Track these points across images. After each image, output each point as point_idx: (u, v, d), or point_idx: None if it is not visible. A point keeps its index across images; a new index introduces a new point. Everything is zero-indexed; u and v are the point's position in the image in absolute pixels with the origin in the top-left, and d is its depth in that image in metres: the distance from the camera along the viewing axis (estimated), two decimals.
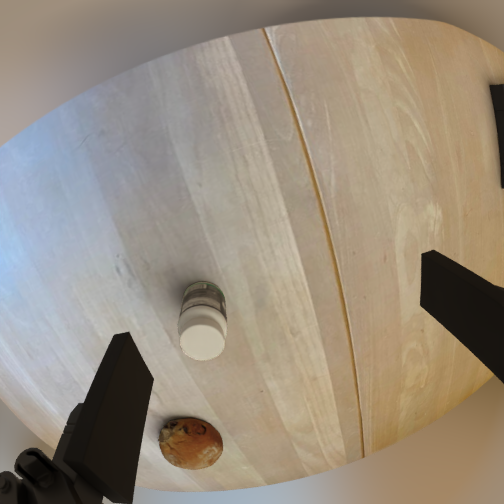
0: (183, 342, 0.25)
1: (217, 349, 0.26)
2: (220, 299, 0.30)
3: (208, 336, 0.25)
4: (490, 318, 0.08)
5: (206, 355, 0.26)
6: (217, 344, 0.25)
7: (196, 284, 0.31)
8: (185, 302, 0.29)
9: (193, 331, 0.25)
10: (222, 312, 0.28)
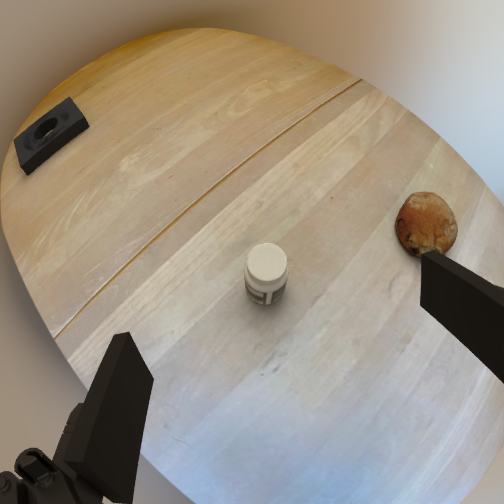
0: (273, 276, 0.29)
1: (266, 247, 0.30)
2: None
3: (257, 259, 0.29)
4: (490, 318, 0.08)
5: (277, 252, 0.30)
6: (261, 249, 0.30)
7: (250, 297, 0.36)
8: (259, 296, 0.33)
9: (258, 272, 0.29)
10: None
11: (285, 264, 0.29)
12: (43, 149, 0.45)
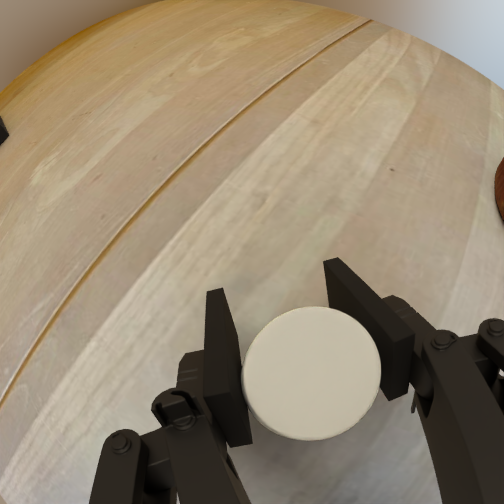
0: (343, 419, 0.07)
1: (303, 323, 0.08)
2: None
3: (279, 372, 0.08)
4: (368, 329, 0.09)
5: (345, 336, 0.08)
6: (289, 333, 0.08)
7: None
8: None
9: (289, 419, 0.07)
10: None
11: (376, 371, 0.07)
12: None
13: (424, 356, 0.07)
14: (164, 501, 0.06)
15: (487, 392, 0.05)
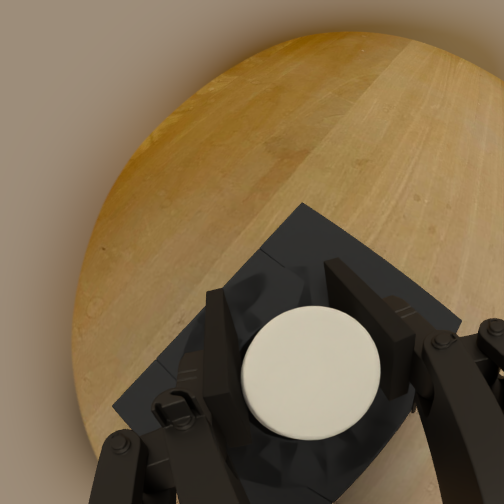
0: (343, 419, 0.07)
1: (303, 322, 0.08)
2: None
3: (279, 372, 0.08)
4: (368, 329, 0.09)
5: (344, 335, 0.08)
6: (288, 333, 0.08)
7: None
8: None
9: (288, 418, 0.07)
10: None
11: (375, 371, 0.08)
12: None
13: (424, 356, 0.07)
14: (164, 501, 0.06)
15: (487, 392, 0.05)
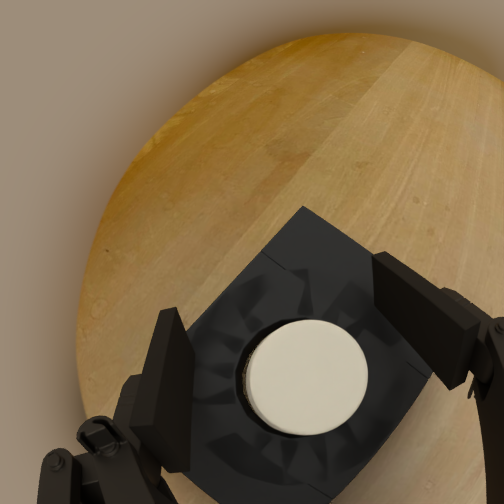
0: (335, 417, 0.08)
1: (301, 334, 0.10)
2: None
3: (280, 376, 0.09)
4: (430, 320, 0.09)
5: (336, 345, 0.09)
6: (288, 343, 0.09)
7: None
8: None
9: (288, 416, 0.08)
10: None
11: (363, 376, 0.09)
12: None
13: (488, 339, 0.06)
14: None
15: None
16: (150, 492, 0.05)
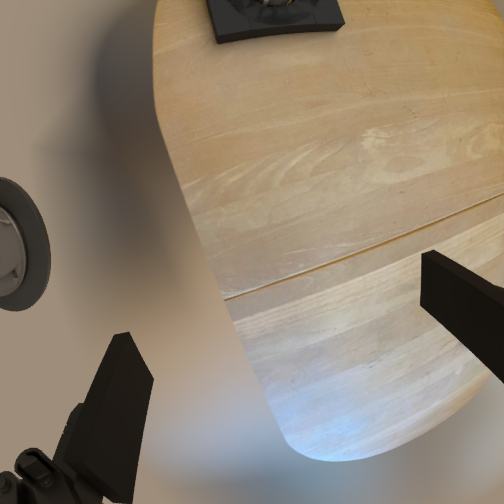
0: None
1: None
2: None
3: None
4: (490, 318, 0.08)
5: None
6: None
7: None
8: None
9: None
10: None
11: None
12: (266, 29, 0.28)
13: None
14: None
15: None
16: None
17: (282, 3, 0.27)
